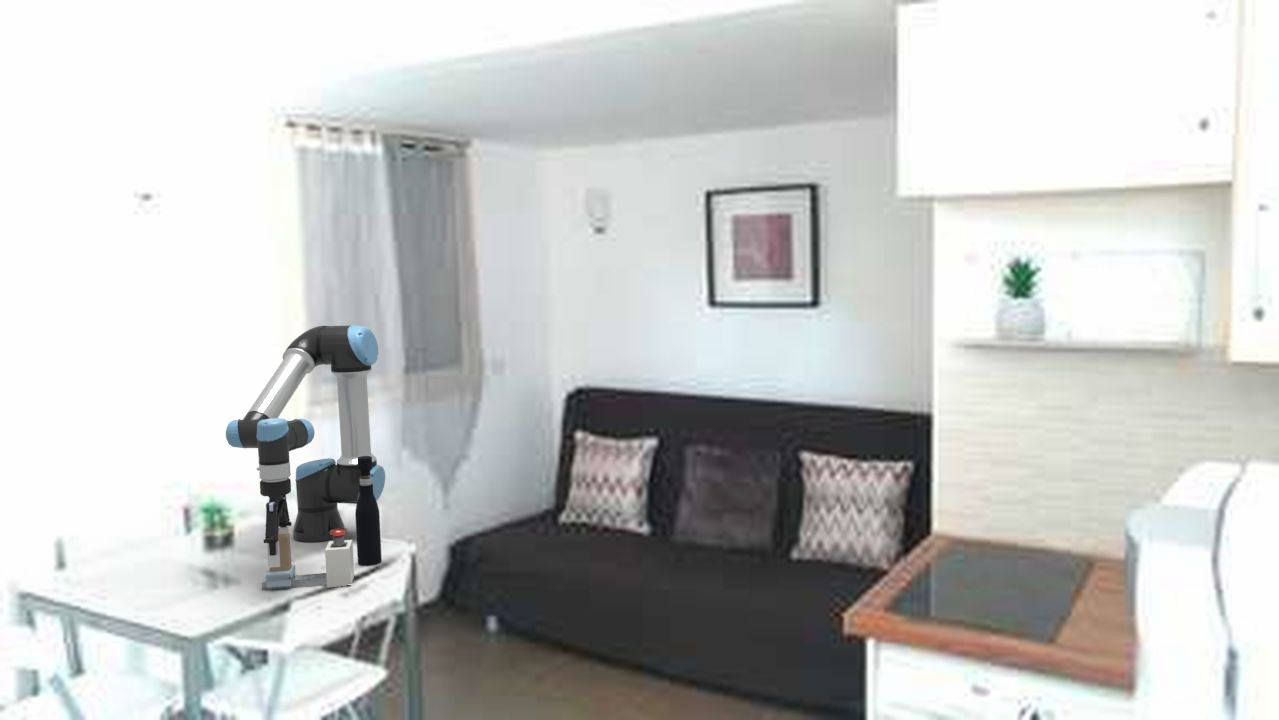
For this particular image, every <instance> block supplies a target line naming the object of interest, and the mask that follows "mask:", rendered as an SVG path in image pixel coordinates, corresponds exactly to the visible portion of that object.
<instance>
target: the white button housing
mask: <svg viewBox="0 0 1279 720" xmlns="http://www.w3.org/2000/svg"><path fill="white" fill-rule="evenodd" d="M353 542H354V541H353V539H346V540H345V539H344V544H345V547H333V540H328V543H327V545H326V548H325V550H324V556H325V558H324V559H325V573H326V578H327V585H326V588H328V589H329V588H342V587H341V586H343V587H346V586H345V585H348V584H351V583H352V584H353V581H354V578H355V565H354V564H355V561H354V545H353V544H354V543H353ZM352 584H351V585H352Z"/></svg>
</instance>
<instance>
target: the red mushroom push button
mask: <svg viewBox="0 0 1279 720" xmlns="http://www.w3.org/2000/svg"><path fill="white" fill-rule="evenodd" d="M346 534H347V528H345V527H344V528H335V529H332V530H330V535H331V536H333V539H332V541H333V547H345V544H344V540H345V535H346Z"/></svg>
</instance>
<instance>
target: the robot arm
mask: <svg viewBox="0 0 1279 720" xmlns="http://www.w3.org/2000/svg"><path fill="white" fill-rule="evenodd" d="M378 355H379V345H378V340H377V338H376V335H375V334H374V332H373V331H372V329H370V328H369V327H368V326H363V325H353V324H351V325H318V326H314V327H312V328H310V329H308V330H306V331H304V332H303V333H302V334H300V335H298V337H296V338H295V339H294V340H293V341H292V342H290V344H289V346H287V348H285V350H284V352H283V354H282V361H281V362H280V364H279V366H278V367H277V368H276V370H275V371H274V373H273V375H271V377H270V379H269V381H268V382H267V383H266V385H265V387H264V388H263V389H262V390H261V392H260V394H259V395H258V396H257V398H256V400H255V401H254V402H253V404H252V406H251V407H250V408H249V410H248V411H247V413H246V414H245V415H244V417H243V419H240V418H239V419H233V420H231V421H229V423H228V424H227V426H226V428H225V429H226V430H225V438H226V442H227V444H228V445H229V446H230V447H233V448H241V449H257V452H258V453H257V454H258V466H257V467H256V471H258V472H259V479H260V481H259V492H260V493H259V494H260V495H261V496H263V497H268V502H266V504H265V511H266V512H265V514H266V515H265V535H264V536H265V537H264V539H263V544H266V547H267V562H268V569H269V568H271V567H280V552H279V541H278V534H290V533H289V532H290V531H289V530H290V529H289V527H291V526H292V521H291V519H290V514H289V508H288V502H287V495H288V494H291V492H292V483H291V482H292V481H291V476H292V475H291V461H290V452H291V451H294V450H297V449H302V448H304V447H305V446H307V445H309V444H310V443H312V441H313V440H314V437H315V428H314V426H313V424H312V423H311V421H309V420H307V419H306V418H295V419H292V420H287V419H285V418H279V417H280V415H281V413H283V411H284V409H285V408H286V406H287V405H288V402H289V401H290V400H291V398H292V397H293V396H294V393H295V392H296V391H297V389H298V387H299V385H301V383H302V382H303V380H304V378H306V376H307V375H308V374H311V373H312V372H313V371H314V369H315V368H316V367H318V366H320V365H325V366H326V365H328V366H329V365H330V373H332V374H333V375H334V376H335V377H336V382H337V383H336V385H337V398H338V399H337V402H338V417H339V419H338V420H339V435H340V450H341V455H340V457H339V458H338V459H337V460H335V459H334V458H332V457H331V458H321V459H315V460H310V461H307V462H303V463H302V464H299V465H298V466H297V467H296V469H295V478H294V481H295V489H296V502H297V503H296V505H297V515H296V518H295V521H294V525H293V529H292V538H293V540H294V541H296V542H301V543H302V542H303V543H305V542H306V543H310V542H311V543H317V542H326V541H332V540H333V536H331V535H330V530H332V529H335V528H345V524H344V522H343V520H342V516H341V513H340V511H339V509H338V504H354V505H355V504H356V505H357V501H358V498H359V485H360V481H359V480H360V478H362V477H361V470H358V461H357V458H358V457H361V456H371V457H372V469H370V476H369V477H371V479H372V480H371V481H372V484H373V494H374V496H375V499H376V501H378V500H379V499H380V497H381V496H382V493H383V491H384V488H385V484H386V483H385V482H386V471H385V469H384V467H383V466H381V465H380V464H378V460H377V457H376V456H375V455H374V454H372V448H371V447H372V446H371V429H370V427H371V426H370V412H369V411H370V409H369V396H368V395H369V394H368V393H369V392H368V375H369V373H370V372H371V371H372V365H374V364H375V363H377V360H378Z"/></svg>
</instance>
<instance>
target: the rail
mask: <svg viewBox="0 0 1279 720" xmlns="http://www.w3.org/2000/svg"><path fill="white" fill-rule="evenodd" d="M291 582H292V585H291V586H282V587H268V588H267V586H266V576H265V577H263V579H262V581H261V590H266V589H267V590H280V589H291V588H305V587H306V588H307V587H308V588H309V587H319V586H320V587H321V586H327V578H326V572H323V573H308V574H295V575H293V577H292V579H291Z"/></svg>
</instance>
